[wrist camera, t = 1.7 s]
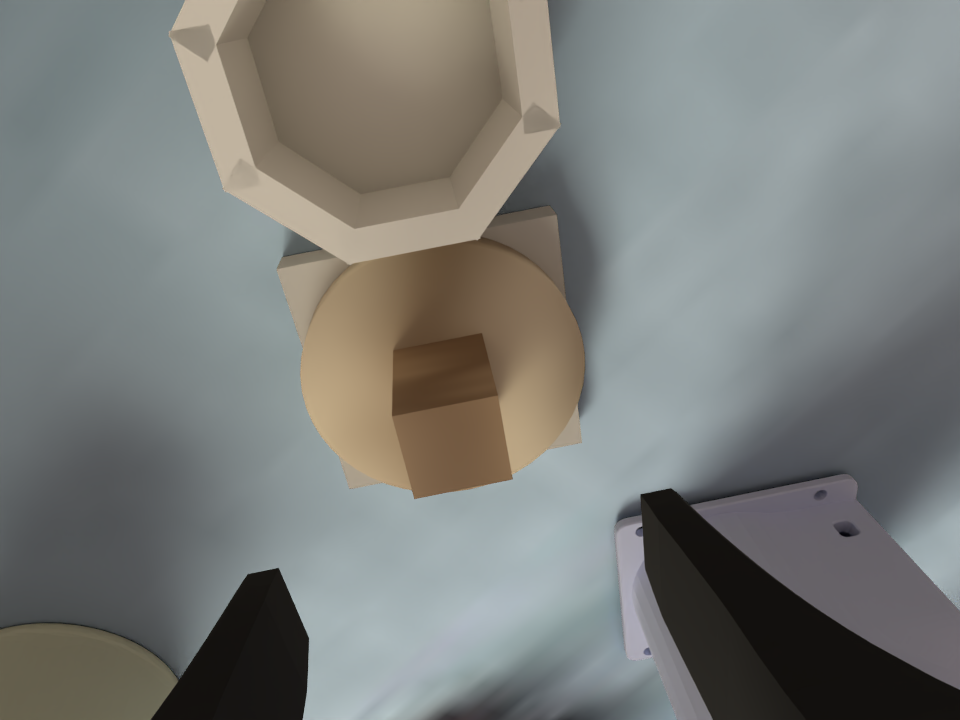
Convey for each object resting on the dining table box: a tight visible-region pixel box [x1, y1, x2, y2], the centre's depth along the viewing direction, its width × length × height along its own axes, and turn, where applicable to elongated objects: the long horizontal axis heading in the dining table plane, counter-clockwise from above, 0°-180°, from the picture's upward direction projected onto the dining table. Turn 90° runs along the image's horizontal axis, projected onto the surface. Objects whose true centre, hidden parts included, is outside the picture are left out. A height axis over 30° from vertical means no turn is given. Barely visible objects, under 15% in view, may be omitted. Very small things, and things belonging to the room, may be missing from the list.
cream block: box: [277, 205, 582, 489], centre depth 21 cm, size 8×8×1 cm
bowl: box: [169, 0, 561, 265], centre depth 16 cm, size 8×8×4 cm
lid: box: [300, 237, 585, 499], centre depth 19 cm, size 8×8×4 cm
